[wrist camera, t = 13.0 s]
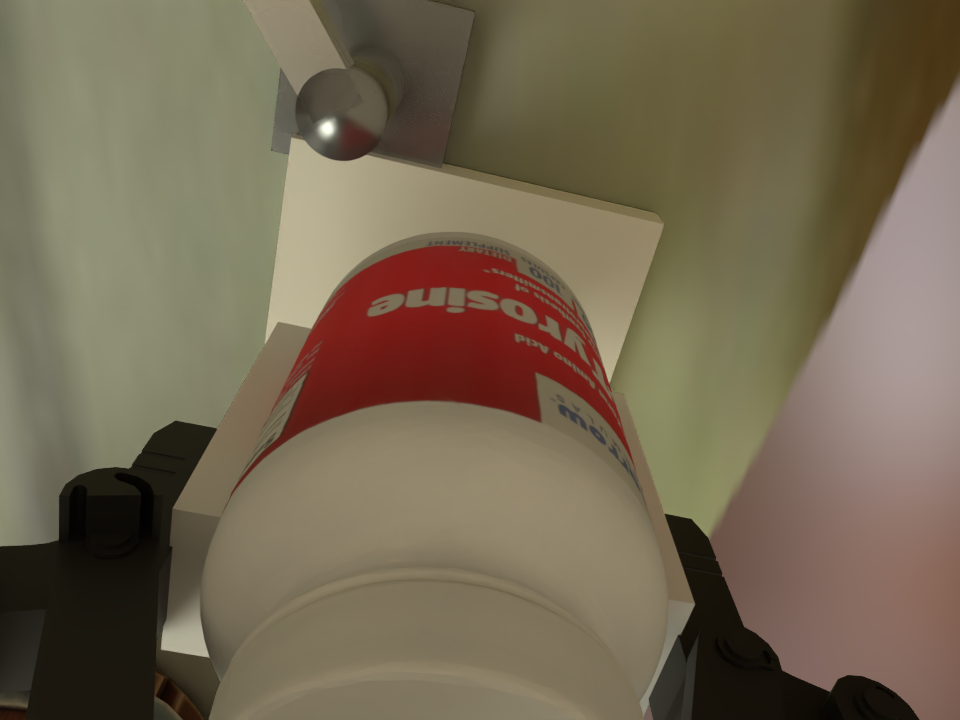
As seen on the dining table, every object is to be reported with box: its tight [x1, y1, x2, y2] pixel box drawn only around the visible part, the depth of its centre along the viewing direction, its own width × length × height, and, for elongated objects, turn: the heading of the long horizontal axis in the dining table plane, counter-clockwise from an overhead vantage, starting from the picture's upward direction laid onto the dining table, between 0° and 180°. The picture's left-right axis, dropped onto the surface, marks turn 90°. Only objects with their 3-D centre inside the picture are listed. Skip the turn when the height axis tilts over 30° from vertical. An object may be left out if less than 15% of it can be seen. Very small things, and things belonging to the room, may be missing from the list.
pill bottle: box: [200, 232, 668, 720], centre depth 13 cm, size 6×6×11 cm
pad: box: [264, 134, 664, 383], centre depth 21 cm, size 9×9×1 cm
